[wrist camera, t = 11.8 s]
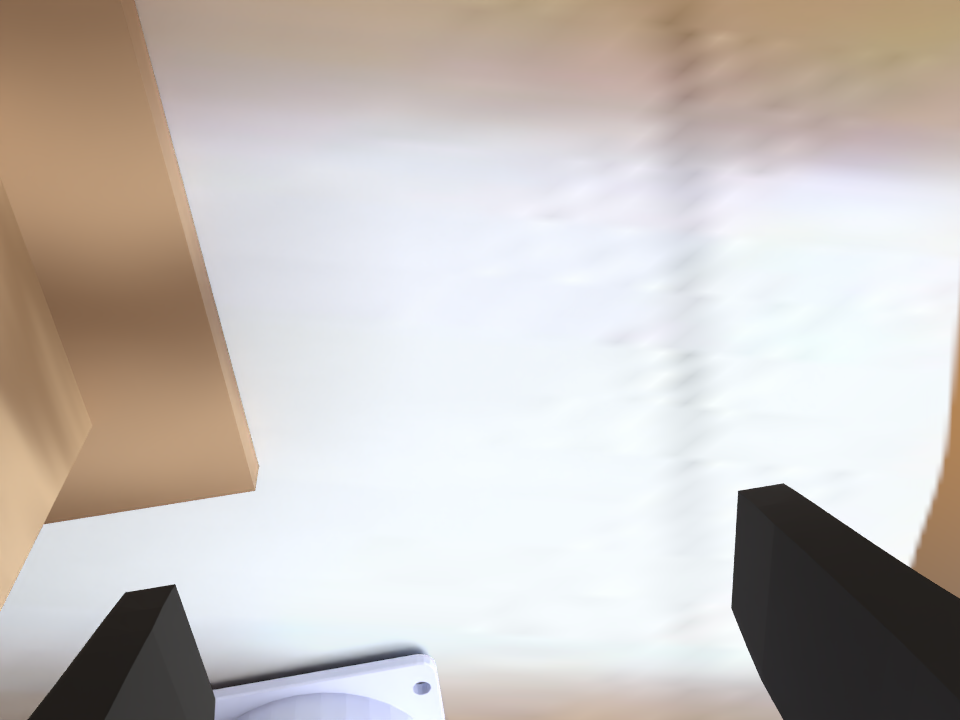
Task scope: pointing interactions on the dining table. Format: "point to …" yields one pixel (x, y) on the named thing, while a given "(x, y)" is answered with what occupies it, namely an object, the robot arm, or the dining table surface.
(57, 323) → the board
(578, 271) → the dining table surface
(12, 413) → the light wood block
